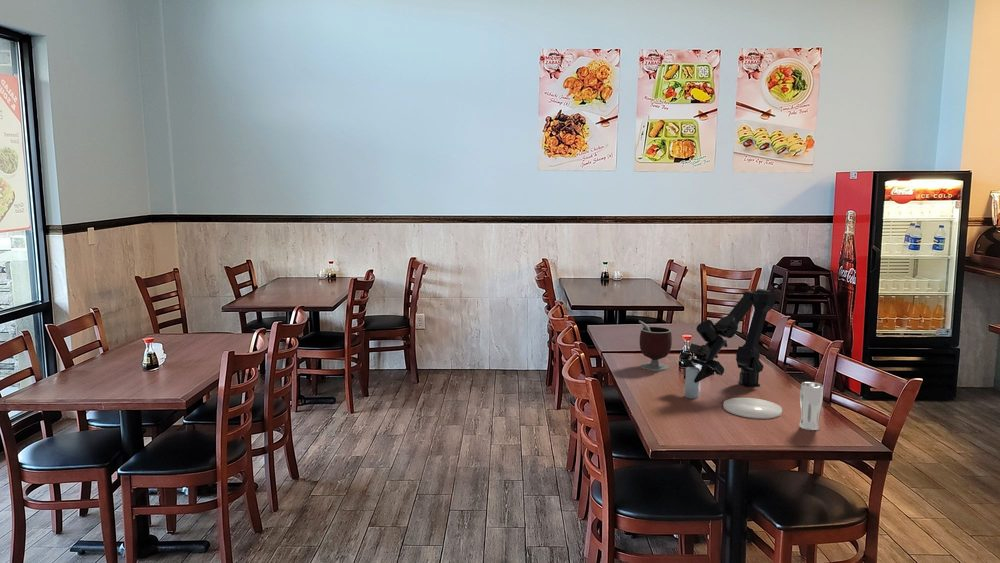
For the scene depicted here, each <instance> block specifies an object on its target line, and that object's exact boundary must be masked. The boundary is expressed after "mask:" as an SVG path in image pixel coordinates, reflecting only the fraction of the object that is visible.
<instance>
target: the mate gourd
mask: <svg viewBox="0 0 1000 563" xmlns="http://www.w3.org/2000/svg"><path fill="white" fill-rule="evenodd" d="M638 323H640V324H641V325H642V326H643V327H641V329H640V335H639V348H640V351H641V353H642V355H644V357H646V358H648V359H650V360H651V361H649V362H643V363H641V364H640V368H641V369H643V370H645V369H647V370H646V371H650V370H653V371H652V372H663V370H665V371H667V369H668V370H669V369H670V368H669V367H670V366H669V365H668V364H666V363H663V362H659V360H661V359H664V358H666V357H668V355H669V354H670V352H671V349H672V344H673V337H672V336H673V335H672V329H670V328H667V327H662V326H649V325H648V324H647V323H645V322H643V321H642V320H638Z"/></svg>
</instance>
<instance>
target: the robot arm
mask: <svg viewBox="0 0 1000 563" xmlns="http://www.w3.org/2000/svg"><path fill="white" fill-rule="evenodd" d="M776 301H777V295H776V292H774V291H773V290H769V289H768V290H767V289H761V288H758V289H756V290H750V291H749V290H747V291H745V292H744V293H743V295H742V297H741V298H740V299H739V301H738V302H737V303H736V305H735V306H734V307H733V308H732V310H731V311H730V312H729V313H728V314H727V315H726V316H724V317H722V318H720V319H719V320H718V321H716V322H715V324H714V323H713V322H714V321H712V320H711V319H706V320H705V321H703V322H701V323H699V324H697V325H696V332H697V333H698V335H699V336H700V337H701V338H702V339H703V341H704V342H706V343H705V344H701V345H698V344H696V343H692V342H691V343H690V346H689V349H688V352H687V351H682V352H681V353H680V354H679V358H680V359H681V360H682V361H683V363H684V364H686V365H685V371H684V374H683V379H684V380H685V379H686V368H687V367H696V365H698V366H701V367H700V371H699V373H698V375H697V376H696V378H695V380H694V382H695V383H697V382H699V383H700V382H701V381H702V380H704V379H706V378H708V377H711V376H715V375H718V376H723V374H724V373H725V368H724V366H723V365H722V364H721V362H720V361H718V360H715V359H718V358H719V356H718V354H719V353H720V351H721V349H722V348H728V341H727V339H732V338H733V337H734V336H735V334H736V333H737V331H738V328H739V323H740V321H742V319H743V318H744V317H745V316H746V314H747V313H748V312H749V310H750V309H751V307H752V306H753V310H754V311H753V313H752V316H751V321H750V325H749V327H748V328H749V329H748V331H747V336H746V339H745V342H744V343H743V345H742V346H740V345H739V346H738V347H737V352H736V354H735V356H736V357H735V361H736V365H737V368H738V369H740V372H739V380H737V381H738V383H739V384H741V385H743V386H744V387H760V386H761V384H760V383H759V379H760V373H761V372H763V370H764V365H763V363H762V362H761V360H760V357H761V354H760V350H759V343H760V340H761V336H762V332H763V329H764V327H765V326H764V325H765V322H766V318H767V315H768V312H770V311H771V310H772V309H773V308H774V306H775V303H776ZM724 338H726V339H724ZM692 353H693V354H692Z"/></svg>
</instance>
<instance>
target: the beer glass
mask: <svg viewBox="0 0 1000 563" xmlns="http://www.w3.org/2000/svg"><path fill="white" fill-rule="evenodd" d="M823 398H824V385H823V384H822V383H819V382H815V381H803V382H801V386H800V391H799V404H800V406H799V407H800V414H801V416H800V417H801V418H800V421H799V426H798V427H799V428H800V427H801V428H800V429H802V430H806V431H810V430H812V431H813V430H816V431H818V430H819V429H820V425H819V417H820V412H821V409H822V405H823Z"/></svg>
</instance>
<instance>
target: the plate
mask: <svg viewBox="0 0 1000 563" xmlns="http://www.w3.org/2000/svg"><path fill="white" fill-rule="evenodd" d="M722 407H723V409H724V410H725V411H726V412H728V413H730V414H733V415H736V416H740V417H743V418H748V419H757V420H758V419H761V420H762V419H763V420H764V419H765V420H767V419H769V420H770V419H774V418H778V417H780V416H782V414H783V408H782V406H781V405H779V404H777V403H775V402H772V401H769V400H765V399H761V398H754V397H733V398H729V399H726V400H724V401H723V406H722Z"/></svg>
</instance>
